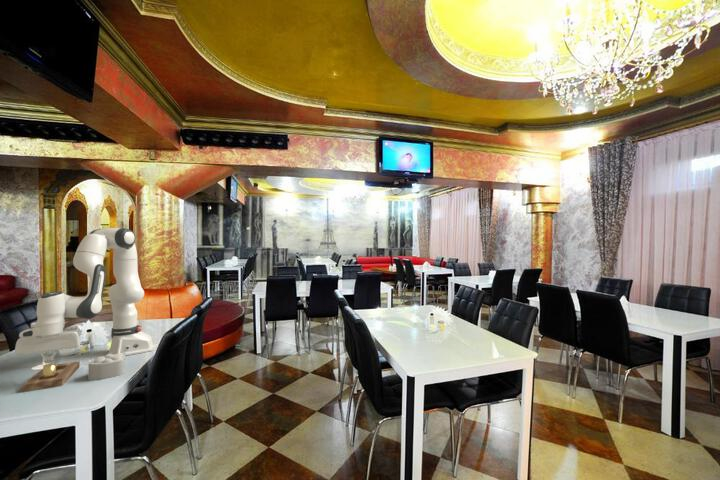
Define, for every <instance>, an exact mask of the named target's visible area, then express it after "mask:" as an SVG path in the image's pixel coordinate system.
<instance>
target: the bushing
mask: <svg viewBox="0 0 720 480" xmlns="http://www.w3.org/2000/svg"><path fill="white" fill-rule="evenodd" d="M49 363H50V364H46V363H45V364H46V365H44V366H43V379H48V378H54V377H56V364H57V362H49Z"/></svg>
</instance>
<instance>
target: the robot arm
mask: <svg viewBox="0 0 720 480" xmlns="http://www.w3.org/2000/svg"><path fill="white" fill-rule="evenodd" d="M108 249H112V251H113V252H112V253H113V254H112V268H113V269H112V270H113V273H112V274H113V276H114V278H115V280H116V281H115V282H116V283H115V284H112V285H111V286H110V287H109V288H108V290H107V294H108V297H109V300H110V305H111V310H112V328H111V331H110V334H111V336H110V337H111V342H110V347H109V351H108V353H107V354H113V355H115V354H122V355H125V357H126V356H132V355H138V354H142V353H147V352H152V351H154V350H156V349H157V347H158V344H157V343H156V342H153V337H152V336H151V335H150V334H148V333H146V332H144V331H142V325H139V324H138V310H137V309H136V305H135V304H136V303H139V302H140V301H142V300H143V298H144V296H145V290H144V289H143V288H142V285H141V280H140V276H139V275H140V274H139V271H138V270H139V269H138V268H139V266H138V263H139V262H138V261H139V260H138V252H137V246H136V234H135V232H134V231H133V230H131V229H130V228H126V227H125V228H124V227H122V228H120V227H110V228H109V227H108V228H97V229H93V230H92V231H90V233H88V234H86V235H85V236H84V237H83V238H82V240H81V241H80V243H79V245H78V246H77V248H76V251H75V254H74V256H73V259H72V265H73V266H74V268H75V269H76V270H78V271H79V272H82V273H83V274H85V275H87V276H88V278H89V283H88V290H87V294H86V295H85V296H72V295H69V294H65V293H64V292H63V291H51V292H46V293H43V294H42V295H40V297H39V298H38V299H37V305H36V316H37V317H36V319H37V320H36V321H35V322H36V327H33V328H31V327H30V328H27V329H25V330H22V331H21V332H20V333H18V334H19V335H18V337H19V338H18V339H17V341H16V343H15V348H14V353H15V354H16V355H26V354H34V353H39V354H40V356H41V357H42V359H43V358H44V362H45V363H46V362H52V361H53V362H54V360H55V356H56V355H57V353H58V352H59V351H60V350H70V349H71V350H72V349H77V348H78V347H80V345H81V344H82V341H81V340H82V339H81V335H82V329H81V328H80V327H77V326H73V327H65V325H66V324H65V323H66V320H65V318H72V319H74V318H75V319H77V318H78V319H85V320H91V319H94V318H95V317H97V316H98V315H99V314H100V313H101V312H102V310H103V307H104V306H103V303H104V302H103V301H104V300H103V299H104V290H105V284H106V278H107V268H106V266H104V260H105V256H106V253H107V250H108ZM47 352H51V353H52V355H50V356H49V355H47Z"/></svg>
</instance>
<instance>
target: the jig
mask: <svg viewBox="0 0 720 480" xmlns="http://www.w3.org/2000/svg"><path fill="white" fill-rule="evenodd" d="M80 363H81V362H80V361H79V360H78V361H73V362H72V361H71V362H64V363H59V364H57V363H56V377H54V378H48V379H43V369H39V371H38V372H36V373H35V374H34V375H33V376H32V377H31V378H30V379H28V380H27V381H26V382H24V383H23V384H22V393H25V392H32V391H37V390H45V389H51V388H57V387H62V386H64V384H66V382H67V381H68V380H69V379H70V378H71V377H72V376H73V375H74V374H75V373H76V371H77V370H79V368H80Z"/></svg>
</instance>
